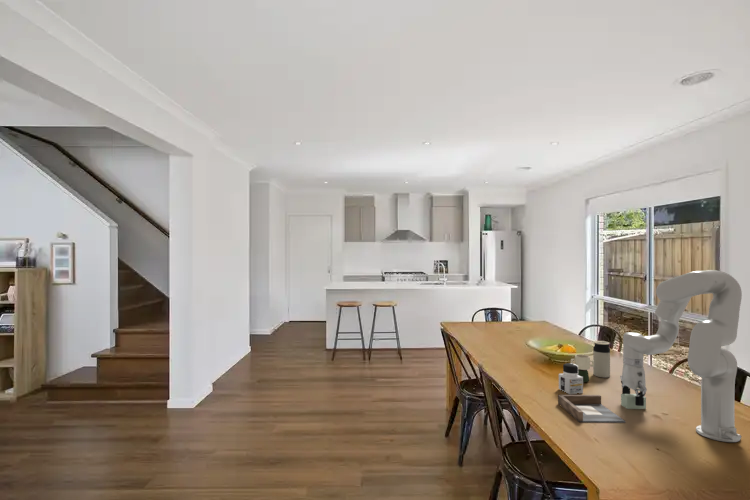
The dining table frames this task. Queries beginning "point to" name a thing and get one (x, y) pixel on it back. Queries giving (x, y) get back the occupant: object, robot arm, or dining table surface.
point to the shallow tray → (588, 408)
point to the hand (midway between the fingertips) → (632, 401)
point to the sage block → (631, 401)
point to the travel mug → (601, 359)
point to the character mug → (583, 365)
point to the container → (570, 379)
